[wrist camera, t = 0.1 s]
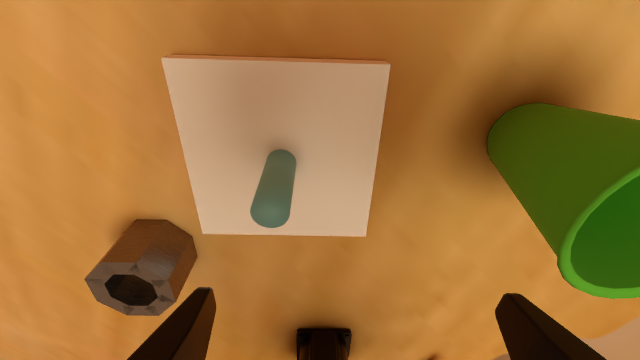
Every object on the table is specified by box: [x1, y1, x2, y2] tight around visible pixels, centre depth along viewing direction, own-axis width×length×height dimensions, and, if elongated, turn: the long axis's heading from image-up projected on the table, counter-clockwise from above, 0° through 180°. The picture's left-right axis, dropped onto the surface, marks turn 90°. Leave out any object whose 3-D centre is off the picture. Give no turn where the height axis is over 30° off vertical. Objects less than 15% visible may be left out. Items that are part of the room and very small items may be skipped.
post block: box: [161, 54, 391, 237], centre depth 19 cm, size 14×14×8 cm
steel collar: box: [85, 220, 197, 316], centre depth 25 cm, size 6×6×5 cm
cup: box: [487, 103, 640, 299], centre depth 17 cm, size 9×9×11 cm
